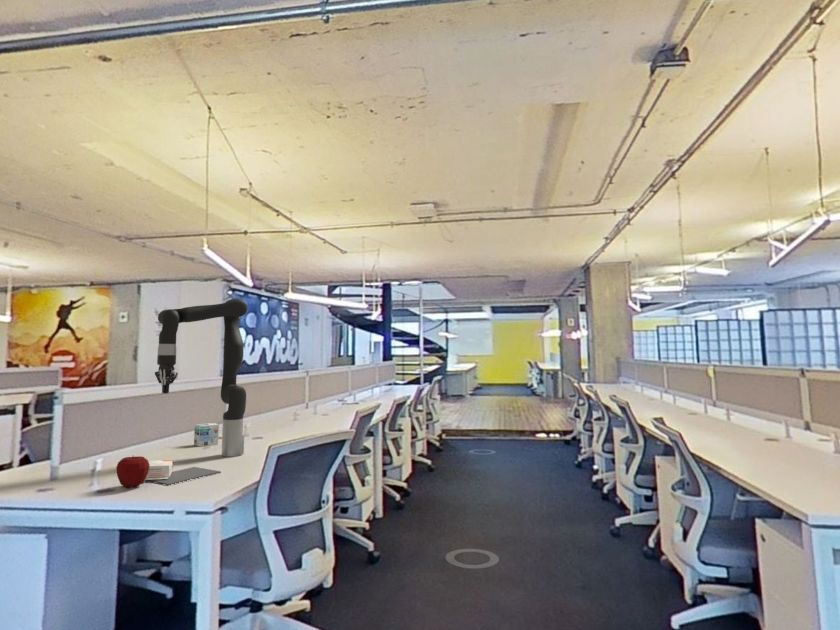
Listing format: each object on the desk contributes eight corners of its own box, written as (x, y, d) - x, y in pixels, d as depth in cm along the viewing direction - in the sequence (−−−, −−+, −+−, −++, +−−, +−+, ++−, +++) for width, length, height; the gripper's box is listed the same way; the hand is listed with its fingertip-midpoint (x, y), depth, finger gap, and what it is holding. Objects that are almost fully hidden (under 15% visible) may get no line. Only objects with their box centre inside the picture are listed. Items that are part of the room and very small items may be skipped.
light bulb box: (199, 447, 274) (199, 425, 275) (193, 445, 279) (194, 424, 280) (218, 444, 282) (219, 424, 283) (212, 442, 287) (213, 422, 288)
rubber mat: (194, 468, 227) (194, 466, 227) (220, 472, 219) (220, 471, 219) (141, 480, 206) (141, 478, 206) (169, 485, 198) (169, 484, 198)
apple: (126, 492, 188) (127, 458, 189) (108, 488, 193) (110, 455, 194) (154, 485, 198) (156, 453, 199) (137, 481, 203) (138, 450, 204)
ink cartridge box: (173, 459, 218) (169, 466, 205) (172, 471, 218) (168, 479, 204) (149, 460, 216) (144, 468, 202) (149, 472, 215) (143, 481, 201)
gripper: (184, 354, 237) (182, 393, 236) (164, 353, 243) (163, 392, 242) (169, 354, 230) (167, 394, 229) (149, 354, 236) (147, 393, 235)
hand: (165, 393), depth 235 cm, fingers closed
